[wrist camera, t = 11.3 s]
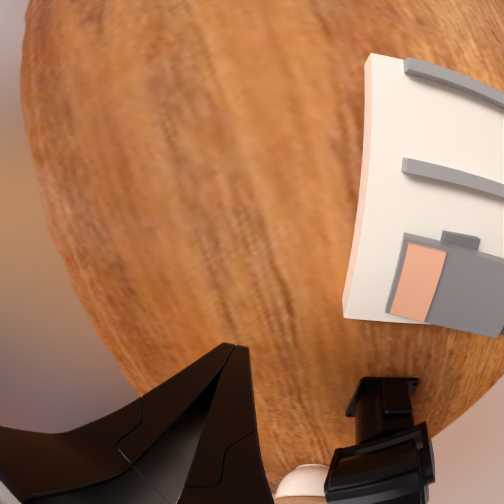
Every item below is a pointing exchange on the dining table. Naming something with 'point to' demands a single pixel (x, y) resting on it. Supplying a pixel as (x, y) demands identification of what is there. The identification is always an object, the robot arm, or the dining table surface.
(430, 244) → the rocker switch
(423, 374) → the dining table surface
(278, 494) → the lidded jar
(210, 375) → the robot arm
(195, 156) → the dining table surface
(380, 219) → the panel
